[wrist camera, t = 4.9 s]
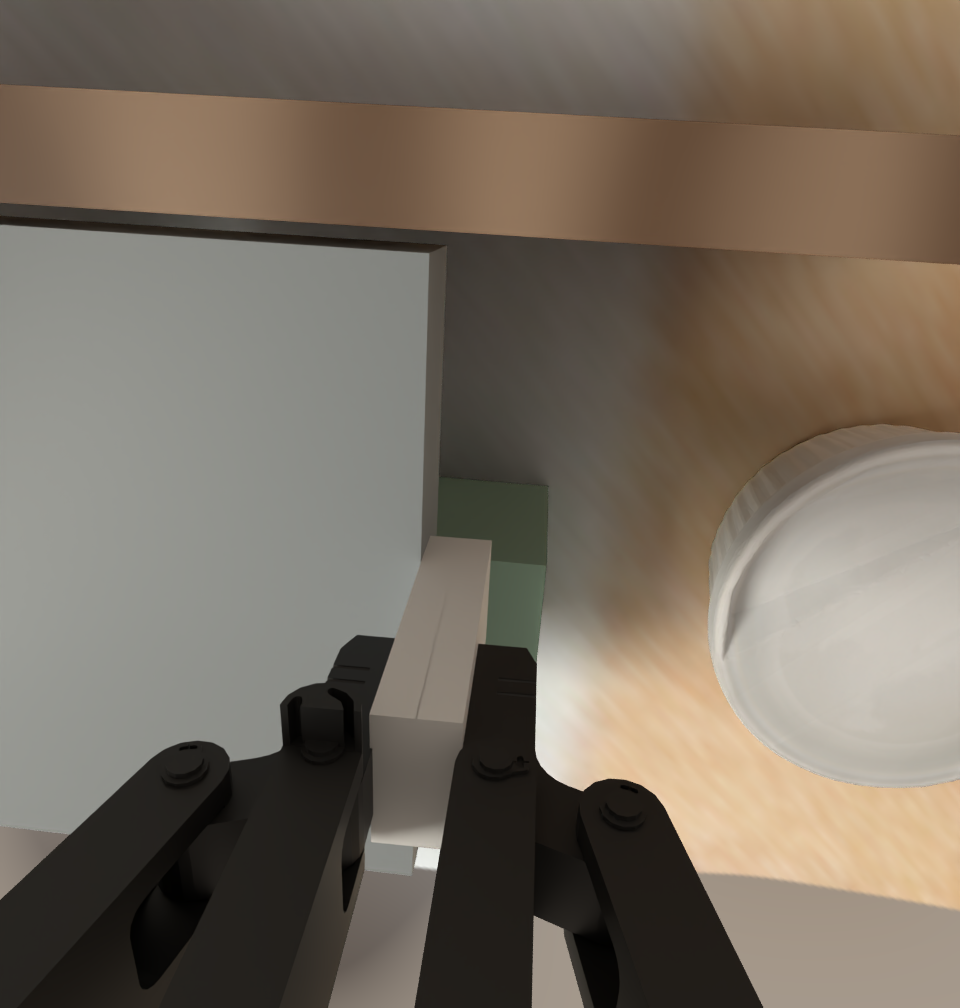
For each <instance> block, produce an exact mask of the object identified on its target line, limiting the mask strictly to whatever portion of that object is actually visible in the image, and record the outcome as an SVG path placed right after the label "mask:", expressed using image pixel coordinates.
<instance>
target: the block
mask: <svg viewBox="0 0 960 1008" xmlns="http://www.w3.org/2000/svg"><path fill="white" fill-rule="evenodd" d="M547 521H548V486H540V485H529V484H517V483H506V482H494V481H483V480H471V479H460V478H448V477H439V485H438V513H437V536H441V537H454V538H466V539H479V540H492V546H491V563H490V579H489V596H488V613H487V630H486V642H485V644H488V645H499V646H511V647H522V648H527V649H528V651H529V652H530V654H531V655H532V657H533V659H534V660H535V662H537V652H538V643H539V633H540V624H541V614H542V604H543V595H544V585H545V575H546V565H547Z"/></svg>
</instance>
